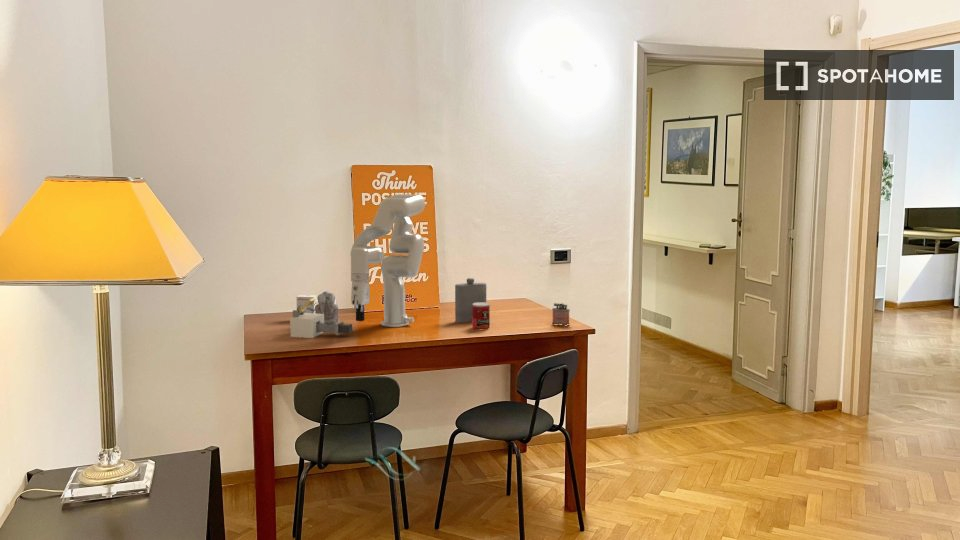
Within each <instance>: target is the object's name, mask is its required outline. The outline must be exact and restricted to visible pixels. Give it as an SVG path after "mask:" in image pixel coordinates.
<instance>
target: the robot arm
mask: <svg viewBox="0 0 960 540" xmlns="http://www.w3.org/2000/svg"><path fill="white" fill-rule="evenodd" d="M425 208H426V201H425V198H424V196H422V195H420V194H405V193H404V194H403V193H402V194H401V193H399V194H397V193H396V194H394V195H392V196H390V197H386V198H383V200H382V201H381V203H380V205H379V206H378V208H377V211H376V214H375V216H374V218H373V220H372V223H371V224H370V225H369V226H367V227H366V228H364V229H363V230H362V231H361V232H360V233H359V234H358V235H357V236H356V238H355V239H354V242H353V244H352V246H351V250H350V282H351V294H350V295H351V297H350V299H351V304H352V306H353V308H354V309H355V310H354V311H355V321H356V322H364V321H365V311H366V309H365V308H366V306H367V304H369V303H370V302H371V293H370V282H369V281H370V265H379V264H380V270H381V274H382V281H383V282H382V283H383V319H384V320H382V321H380V325H381V326H382V327H387V328H401V327H406V326H408V325H410V323H414V321H415V318H414V317H413V316H408V313H406V295H405V294H406V288H405V282H404V281H403V279H402V278H409V279H410V278H411V279H412V278H415V277H416V276H417V275H418V273H419V272H420V271H419V270H420V267H421V263H422V259H423V253H424V250H425V242H424V238H423V237H422V235H420V234H418V233H417V234H416V233H412V231H413V227H414V226H413V225H414V224H413V221H412V220H411V218H410V217H413V216H416V215H419V214H421V213H423V211H424V210H425ZM392 228H393V229H392ZM390 232H392V233H391V236H390V241H389V245H388V246H389V250H390V252H391V253H393V254H394V255H386V256H385V252H384V250H383V249H382V248H381V247H379V246H373V245H372V246H371V245H368V244H370V243H371V242H372V241H375V240H377V239H379V238H382V237H385V236H387V235H389V234H390ZM395 254H396V255H395ZM409 322H410V323H409Z"/></svg>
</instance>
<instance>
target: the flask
mask: <svg viewBox="0 0 960 540" xmlns="http://www.w3.org/2000/svg"><path fill="white" fill-rule="evenodd" d="M454 298H455V299H454V305H455V306H454V310H455V311H454V313H455V314H454V315H455V317H454V319H455V320H454V321H455V323H457V324H464V323H463V322H466V323H472V305H473V303H477V302H485V303H487V283H485V282H475V278H474V277H469V278H466V282H465V283H456V284H455V286H454Z"/></svg>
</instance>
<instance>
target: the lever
mask: <svg viewBox="0 0 960 540" xmlns="http://www.w3.org/2000/svg"><path fill="white" fill-rule="evenodd" d="M314 301H315V299H314V298H312V299H310V300H308V301H307V302H306V303H305V304H304V305H303V306H302V307H301V308H300V309H299V310H298V315H300V314H302V312H303V311H304V310H305V309H306V308H307V307H308V306H310V305H311V304H312V303H313V302H314Z"/></svg>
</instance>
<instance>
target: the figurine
mask: <svg viewBox="0 0 960 540" xmlns="http://www.w3.org/2000/svg"><path fill="white" fill-rule="evenodd" d="M335 301H336V296H335V294H334V293H332V292H329V291H323V292H322V293H320V294H318V295H317V305H316V306H315V312H316V314H324V323H338V322H339V305H338V304H335Z"/></svg>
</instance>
